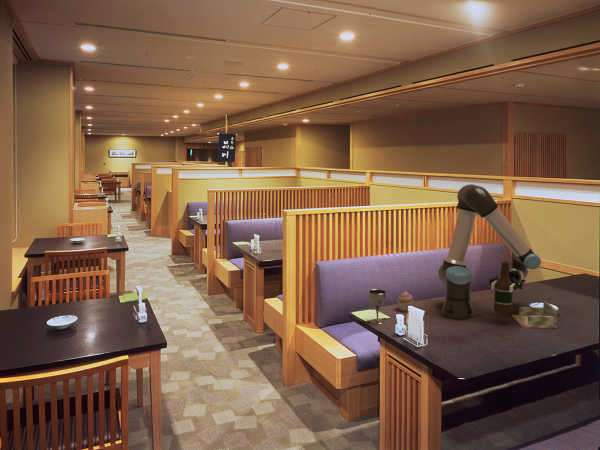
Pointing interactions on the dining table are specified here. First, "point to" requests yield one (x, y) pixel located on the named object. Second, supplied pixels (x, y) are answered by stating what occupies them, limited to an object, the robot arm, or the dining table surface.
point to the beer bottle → (503, 291)
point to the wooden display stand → (537, 316)
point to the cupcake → (405, 301)
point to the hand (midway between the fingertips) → (501, 288)
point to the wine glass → (377, 302)
